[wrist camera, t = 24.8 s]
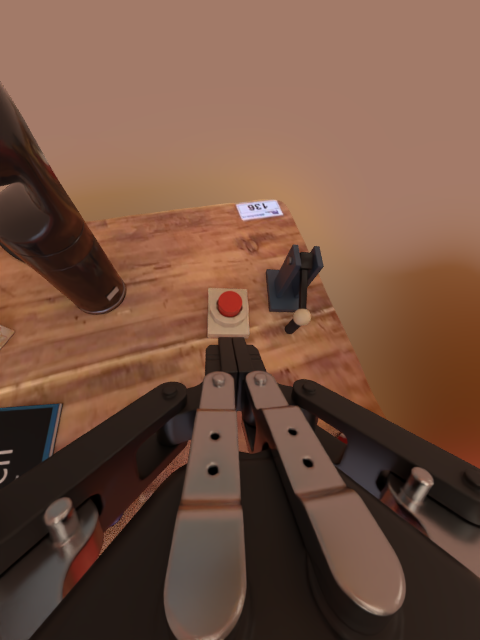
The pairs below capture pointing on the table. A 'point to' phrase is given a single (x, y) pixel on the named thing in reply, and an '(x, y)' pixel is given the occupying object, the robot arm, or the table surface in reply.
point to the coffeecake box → (5, 335)
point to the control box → (227, 325)
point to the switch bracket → (290, 280)
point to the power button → (229, 303)
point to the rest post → (291, 327)
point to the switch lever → (303, 290)
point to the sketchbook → (26, 438)
